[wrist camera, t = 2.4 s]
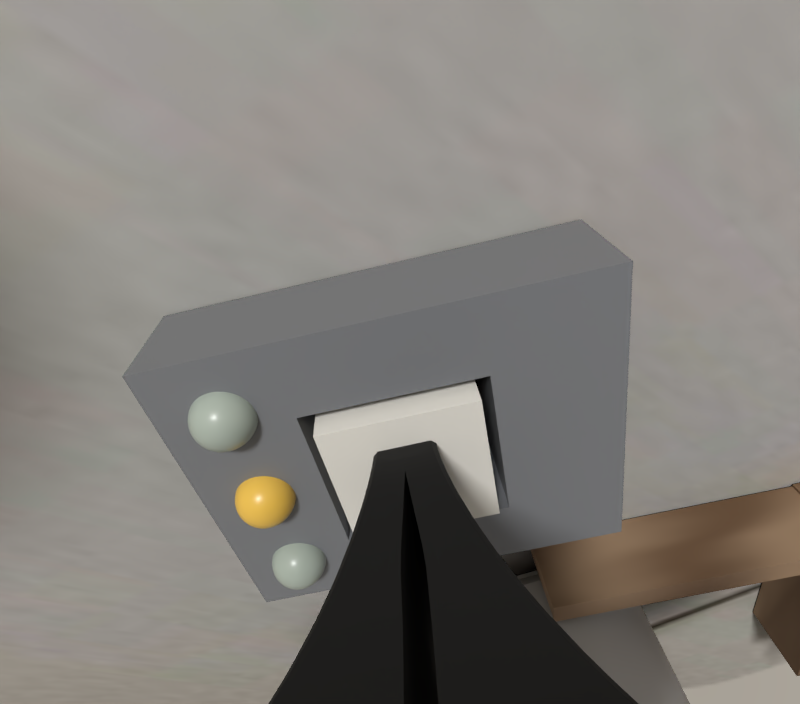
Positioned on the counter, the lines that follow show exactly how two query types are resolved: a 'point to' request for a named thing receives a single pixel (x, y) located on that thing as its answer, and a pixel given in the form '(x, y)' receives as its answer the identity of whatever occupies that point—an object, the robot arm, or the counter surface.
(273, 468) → the panel
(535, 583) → the can
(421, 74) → the counter surface
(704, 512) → the lockout bracket
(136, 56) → the counter surface
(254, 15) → the counter surface
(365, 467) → the block
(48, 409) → the counter surface
